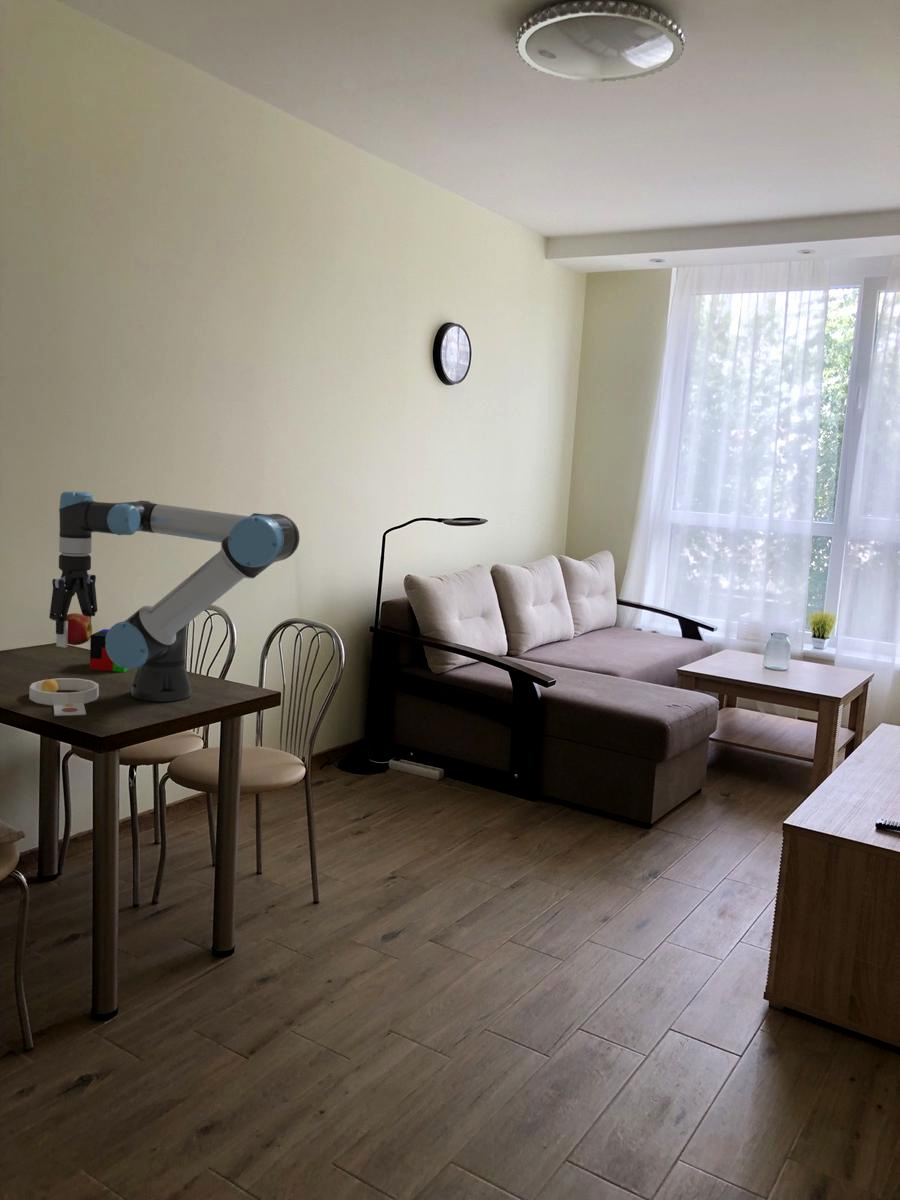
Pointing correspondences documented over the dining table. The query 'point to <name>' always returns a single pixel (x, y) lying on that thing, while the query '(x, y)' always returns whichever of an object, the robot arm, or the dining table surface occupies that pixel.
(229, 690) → the dining table surface
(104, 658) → the puzzle toy
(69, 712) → the card
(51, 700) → the ring
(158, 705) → the dining table surface
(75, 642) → the apple
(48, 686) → the orange egg
